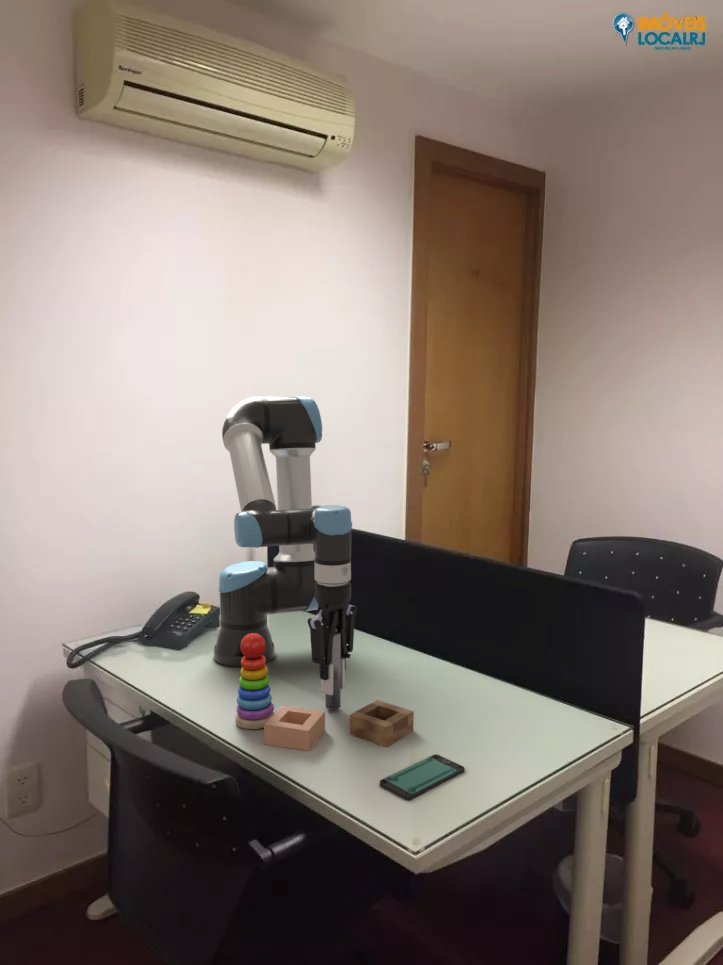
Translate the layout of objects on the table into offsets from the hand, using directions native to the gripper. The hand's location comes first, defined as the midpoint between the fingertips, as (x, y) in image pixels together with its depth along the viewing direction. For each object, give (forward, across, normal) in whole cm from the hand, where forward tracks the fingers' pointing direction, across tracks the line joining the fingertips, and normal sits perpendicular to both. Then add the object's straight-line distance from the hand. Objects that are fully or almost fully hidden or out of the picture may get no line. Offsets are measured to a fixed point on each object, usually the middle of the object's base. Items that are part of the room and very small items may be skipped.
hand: (332, 689), depth 165 cm
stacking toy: (+5, -14, +9) cm, 17 cm away
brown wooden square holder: (+4, -2, -14) cm, 15 cm away
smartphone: (+5, -12, -30) cm, 33 cm away
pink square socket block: (+4, -14, -2) cm, 15 cm away
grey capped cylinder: (+4, 0, 0) cm, 4 cm away
